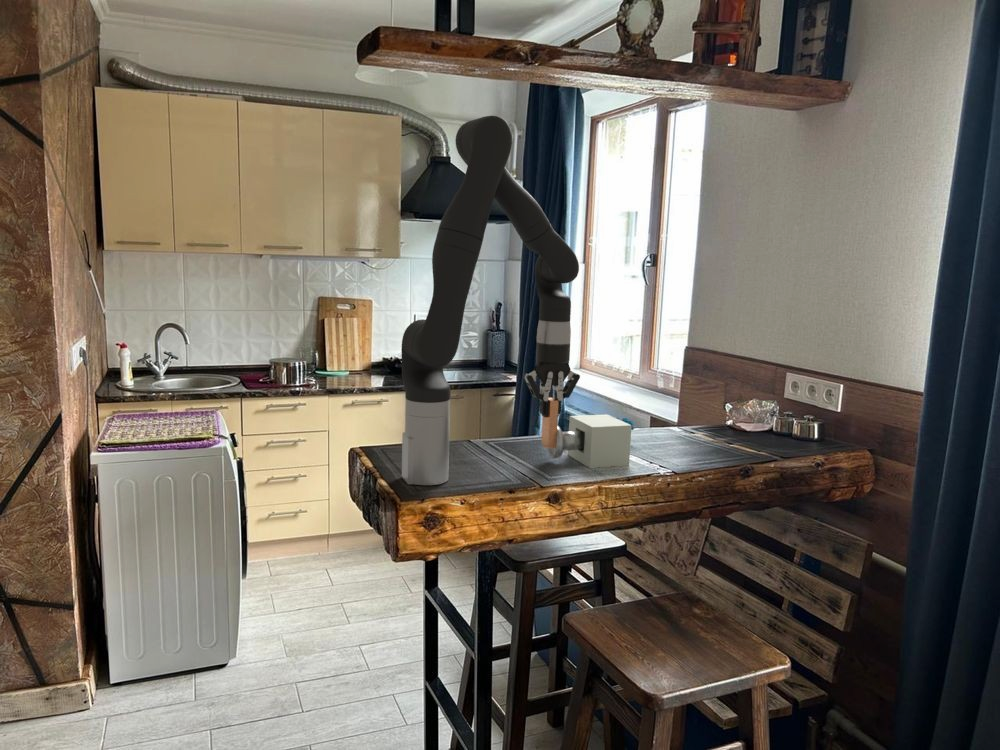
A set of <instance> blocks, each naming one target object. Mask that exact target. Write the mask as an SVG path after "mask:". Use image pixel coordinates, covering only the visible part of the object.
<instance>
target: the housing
mask: <svg viewBox="0 0 1000 750" xmlns="http://www.w3.org/2000/svg"><path fill="white" fill-rule="evenodd" d="M568 421H569V424H568V425H569V426H568V431H583V432H584V434H585V441H584V449H583V450H568V451H567V455H568V456H570V457H571V458H573V459H575V460H576V461H578V462H579V463H581V464H583V465H584V466H586V467H587V468H589V469H598V468H597V467H600V468H611V466H615V467H625V466H627V467H628V466H630V458H631V457H630V455H631V439H632V430H631V427H632V425H630V424H628V423H625V422H623V421H622V419H620V418H619V419H616V417H614V416H612V415H609V414H606V413H604V414H585V415H570V416H569V420H568Z"/></svg>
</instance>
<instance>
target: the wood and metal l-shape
mask: <svg viewBox="0 0 1000 750" xmlns="http://www.w3.org/2000/svg"><path fill="white" fill-rule="evenodd" d="M548 401H549V407H548V417H543V416H542V424H541V443H540V444H541V445H542V446H544V447H545V448H547V452H548V454H549V456H550V457H551V458H552V459H559V458H562V455H563V453H564V452H565V451H567V452H568V450H583V449H584V441H585V434H584V432H583V431H569V430H567V431H563V430H562V429H561V427H560V426H559V425H558V420H559V416H558V402H559V401H558V400H556V399H554V397H550V396H549V398H548Z"/></svg>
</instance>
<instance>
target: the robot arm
mask: <svg viewBox="0 0 1000 750" xmlns="http://www.w3.org/2000/svg"><path fill="white" fill-rule="evenodd" d="M455 147H456V148H455V149H456V151H457V153H458V155H459V156H460V158H461V159H462V160H463V162H464V163H465V165H467V167H466V172H465V174H464V178H463V180H462V183H461V185H460V187H459V188H458V190H457V192H456V194H455V195H454V197H453V198H452V200H451V201H450V203H449V206H448V207H447V209H446V210H445V212H444V214H443V216H442V218H441V221H440V223H439V225H438V229H437V233H436V237H435V241H434V245H433V249H432V255H431V261H432V262H431V263H432V264H431V265H432V266H431V267H432V268H431V269H432V281H433V282H432V283H433V288H432V289H433V290H432V291H433V293H432V298H431V302H430V306H429V309H428V312H427V315H426V319H417V320H415V321H412V322H411V323H410V324H409V325H408V326H407V327H406V329H405V330H404V333H403V335H402V339H401V378H402V379H401V380H402V384H403V388H404V398H405V399H404V400H405V402H404V403H405V409H404V410H405V411H404V417H405V418H404V431H403V432H402V438H401V439H402V440H401V441H402V442H401V443H402V444H401V446H402V448H401V477H402V479H403V480H404V482H406V484H407V485H418V486H435V485H436V486H437V485H442V484H444V483H445V484H446V482H448V481H449V472H450V467H449V465H450V464H449V463H450V461H449V460H450V426H451V423H450V422H451V392H452V391H451V390H452V389H451V386H450V384H449V382H448V380H447V379H446V376H445V373H444V367H447V366H449V364H450V363H451V362H452V361H453V360H454V357H456V354H457V352H458V348H459V345H460V340H461V333H462V326H463V320H464V314H465V309H466V303H467V300H468V296H469V293H470V289H471V285H472V281H473V277H474V273H475V269H476V266H477V263H478V260H479V257H480V253H481V249H482V246H483V242H484V236H485V233H486V229H487V225H488V222H489V218H490V214H491V210H492V207H493V204H494V201H496V203H498V205H499V206H500V208H501V209H502V211H503V212H504V213H505V216H506V217H507V218H508V219H509V221H510V222H511V224H512V226H513V228H514V229H515V231H516V233H517V235H518V236H519V237H520V239H521V241H522V242H523V244H524V246H525V247H526V248H527V249H528V250H529V251H532V252H533V253H536V254H537V255H538V257H537V259H536V262H535V266H534V280H535V283H536V284H535V285H536V291H537V296H538V299H539V307H538V308H539V309H538V324H537V329H536V355H535V360H536V362H535V366H534V367H533V370H532V371H531V372H529V373H524V374H523V379H524V381H525V383H526V385H527V387H528V389H529V391H530V394H531V396H532V397H533V398H536V399H538V400H539V414H540V415H541V416H542V418H543V417H548V407H549V401H548V398H549V397H550V392H551V387H552V390H553V398H554V399H556V400H558V401H559V402H558V417H559V416H560V415H561V413H562V401H563V400H564V399H569V398H571V395H572V393H573V391H574V389H575V388H576V386H577V384H578V382H579V380H580V379H581V375H580V374H578V373H576V372H574V371H572V370H571V367H570V357H571V356H570V355H571V354H570V353H571V337H572V332H571V331H572V329H571V312H572V310H571V309H572V302H571V297H569V296H568V295H567V294H565V293H564V291H563V286H562V284H568V283H572V282H573V281H575V280H576V279H577V277H578V275H579V271H580V264H579V260H578V257H577V256H576V253H575V252H574V251H573V249H572V248H571V247H570V245H568V244H567V243H566V241H565V240H564V239H563V238H562V237H561V235H560V234H559V233H557V232H556V231H555V230H554V228H553V226H552V223H550V221H549V218H548V217H547V215H546V213H545V212H544V211H543V209H542V207H541V206H540V204H539V203H538V202H537V200H536V199H535V198H534V196H532V195H531V194H530V193H529V191H527V190H526V189H525V187H523V186H522V185H521V184H520V183H519V182H518V181H517V180H516V179H515V177H513V176H512V174H511V173H510V171H509V170H508V169H507V167H506V165H507V163H508V159H509V158H510V156H511V151H512V147H513V132H512V129H511V126H510V125H509V123H508V122H507V120H505V118H503V117H501V116H498V115H486V116H482V117H479V118H475V119H472V120H468V121H467V122H464V123H463V124H462V125H461V126H460V127H459V128H458V129H457V132H456V135H455ZM494 199H495V200H494ZM537 379H538V380H539V382H540V383H539V388H538V386H537V383H536V381H537ZM566 379H567V380H566ZM565 380H566V382H565ZM564 382H565V385H564Z"/></svg>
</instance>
